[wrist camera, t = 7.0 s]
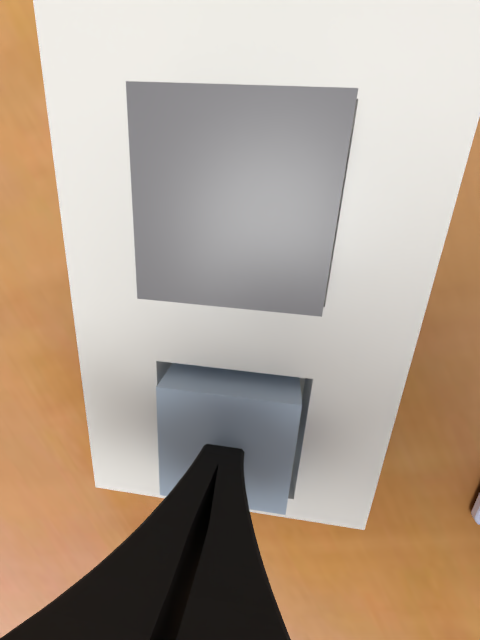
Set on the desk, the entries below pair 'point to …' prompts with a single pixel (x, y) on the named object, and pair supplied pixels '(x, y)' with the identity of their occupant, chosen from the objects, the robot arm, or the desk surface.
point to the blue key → (230, 426)
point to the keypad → (351, 230)
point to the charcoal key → (237, 191)
